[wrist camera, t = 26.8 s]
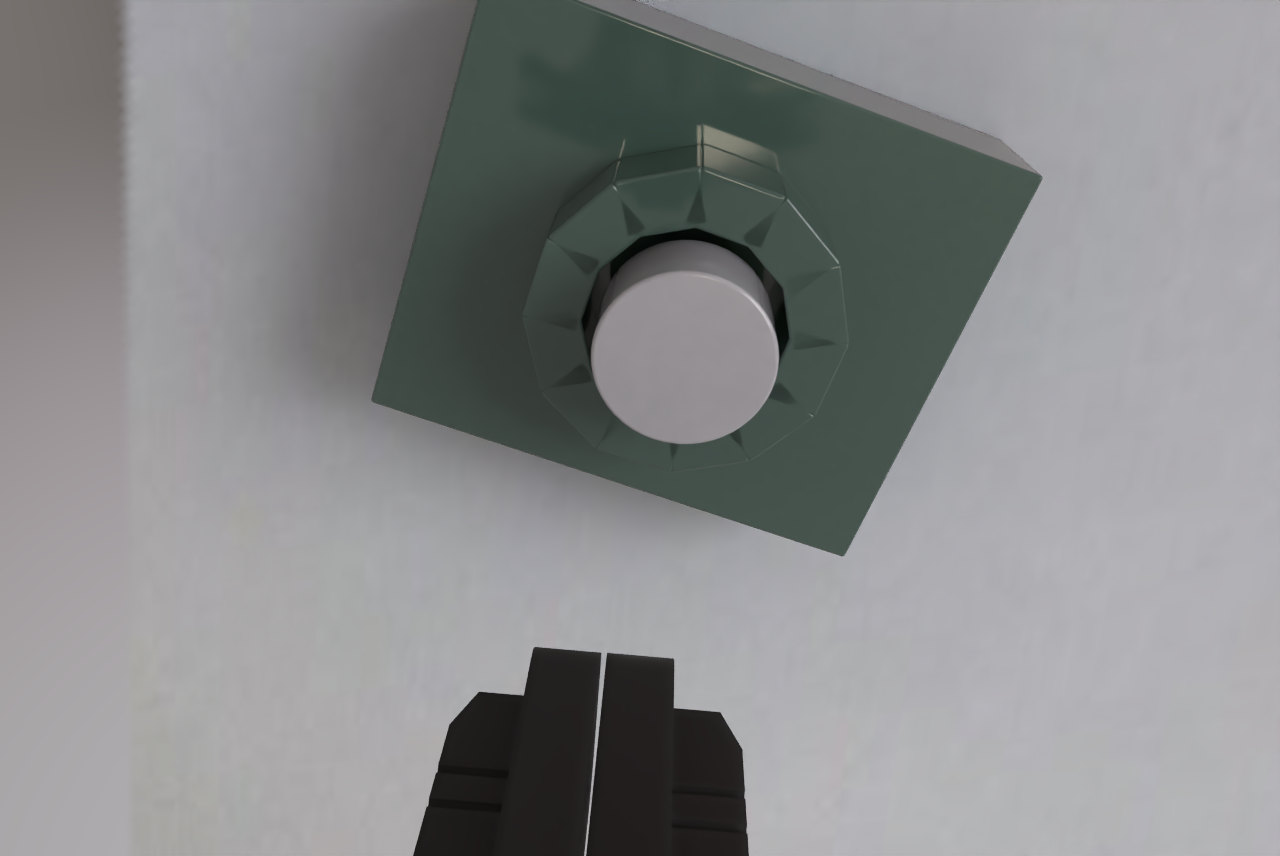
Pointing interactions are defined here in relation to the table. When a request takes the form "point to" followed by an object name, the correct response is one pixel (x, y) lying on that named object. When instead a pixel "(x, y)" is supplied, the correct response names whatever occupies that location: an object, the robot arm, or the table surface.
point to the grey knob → (685, 343)
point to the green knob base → (704, 211)
